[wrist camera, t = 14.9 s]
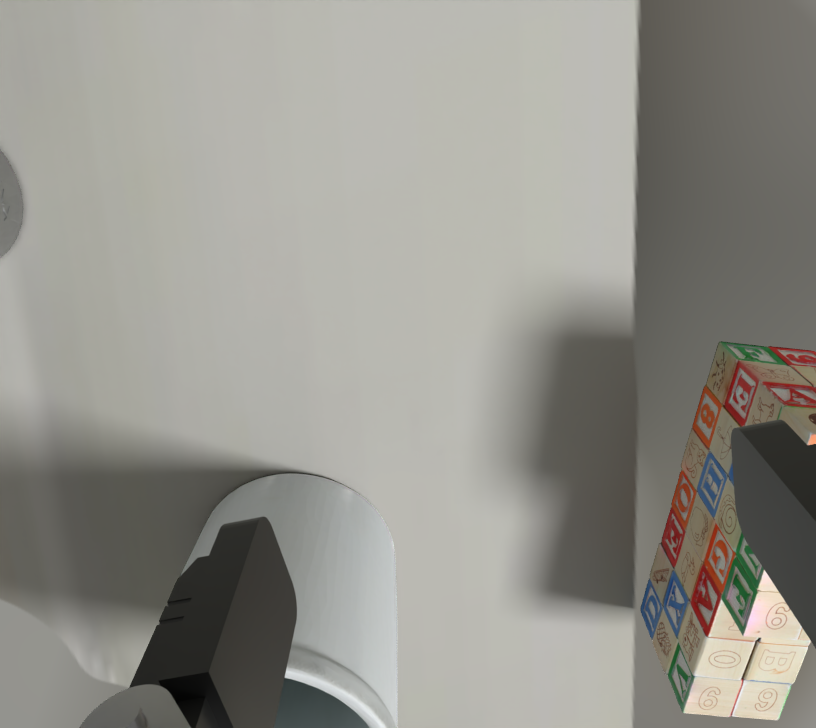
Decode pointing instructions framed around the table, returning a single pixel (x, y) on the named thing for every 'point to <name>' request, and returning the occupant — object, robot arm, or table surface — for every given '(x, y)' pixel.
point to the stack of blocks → (728, 548)
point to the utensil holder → (328, 598)
